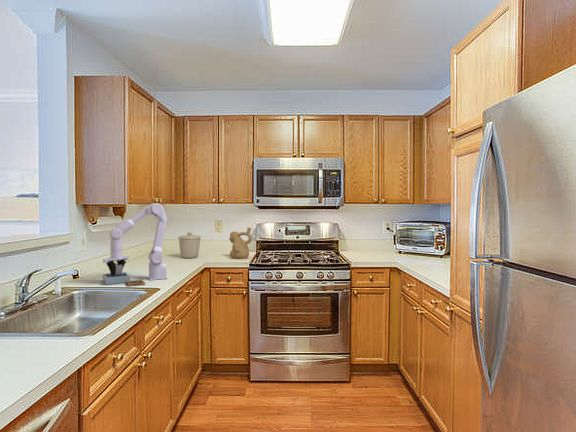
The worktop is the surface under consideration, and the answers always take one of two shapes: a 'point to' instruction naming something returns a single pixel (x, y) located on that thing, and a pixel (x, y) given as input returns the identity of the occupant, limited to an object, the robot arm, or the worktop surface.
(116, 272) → the strut
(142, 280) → the socket
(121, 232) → the robot arm
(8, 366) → the worktop surface
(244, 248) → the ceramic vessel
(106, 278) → the bin
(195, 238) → the canister
